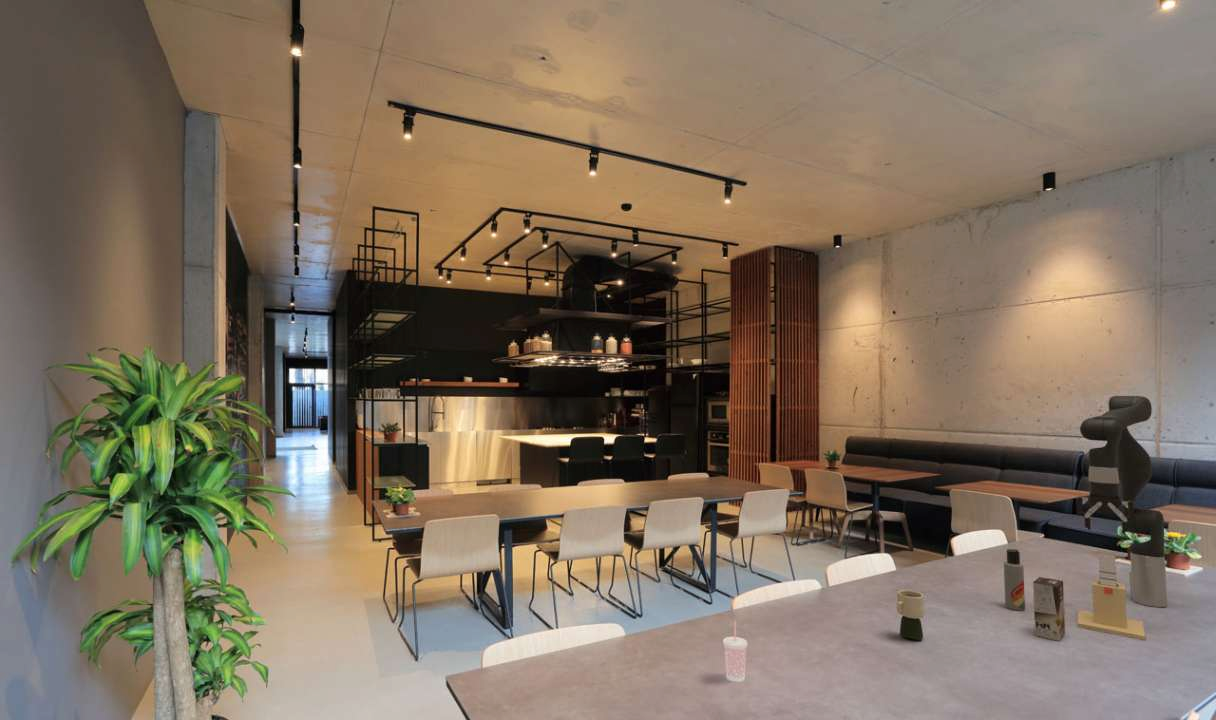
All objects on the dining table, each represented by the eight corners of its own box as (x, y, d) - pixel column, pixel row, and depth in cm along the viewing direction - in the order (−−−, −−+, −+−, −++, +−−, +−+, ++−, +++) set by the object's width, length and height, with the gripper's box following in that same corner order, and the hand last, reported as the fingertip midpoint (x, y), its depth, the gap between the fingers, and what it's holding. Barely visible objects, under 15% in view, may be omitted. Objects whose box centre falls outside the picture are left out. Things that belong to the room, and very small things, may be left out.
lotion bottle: (1028, 611, 202) (1026, 552, 204) (1009, 610, 204) (1007, 551, 205) (1020, 606, 208) (1018, 548, 209) (1002, 604, 209) (1000, 547, 211)
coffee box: (1060, 641, 177) (1058, 586, 178) (1034, 635, 181) (1032, 582, 183) (1065, 633, 183) (1063, 580, 184) (1040, 628, 188) (1038, 576, 189)
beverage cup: (720, 672, 154) (720, 617, 155) (743, 671, 155) (743, 616, 156) (727, 683, 148) (726, 625, 149) (750, 682, 149) (750, 625, 150)
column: (1101, 615, 193) (1098, 553, 194) (1118, 618, 190) (1115, 555, 192) (1101, 619, 190) (1098, 555, 191) (1118, 622, 187) (1115, 557, 189)
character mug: (913, 630, 184) (912, 588, 185) (934, 639, 178) (933, 594, 179) (888, 636, 180) (887, 592, 181) (908, 645, 173) (907, 599, 174)
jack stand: (1079, 613, 201) (1077, 573, 202) (1142, 625, 191) (1140, 583, 192) (1077, 627, 189) (1075, 584, 190) (1145, 640, 179) (1143, 595, 180)
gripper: (1132, 481, 191) (1134, 532, 190) (1076, 477, 200) (1078, 526, 199) (1133, 484, 186) (1136, 536, 184) (1075, 479, 195) (1077, 530, 194)
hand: (1106, 531), depth 192 cm, fingers open, 8 cm apart
